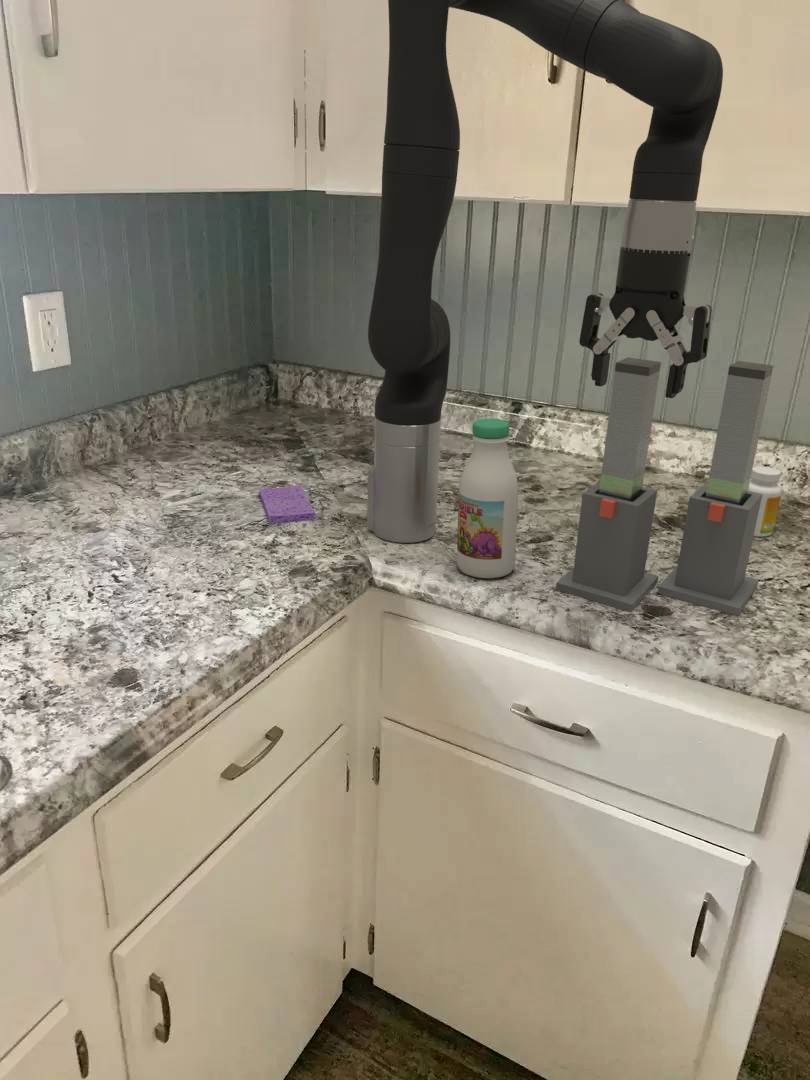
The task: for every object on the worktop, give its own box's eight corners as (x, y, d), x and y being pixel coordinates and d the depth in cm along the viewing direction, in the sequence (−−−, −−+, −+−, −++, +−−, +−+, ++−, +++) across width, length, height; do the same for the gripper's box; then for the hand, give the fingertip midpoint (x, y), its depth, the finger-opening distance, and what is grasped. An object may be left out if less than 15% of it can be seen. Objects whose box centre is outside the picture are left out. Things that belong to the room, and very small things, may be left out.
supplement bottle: (770, 526, 129) (783, 466, 126) (774, 539, 125) (788, 477, 121) (733, 522, 131) (745, 462, 127) (736, 535, 126) (748, 473, 122)
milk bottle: (483, 551, 117) (489, 411, 110) (526, 568, 112) (535, 422, 104) (444, 567, 113) (447, 421, 105) (487, 585, 107) (493, 433, 100)
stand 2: (657, 593, 107) (673, 497, 102) (681, 566, 115) (697, 476, 110) (738, 615, 102) (759, 516, 97) (757, 586, 110) (777, 493, 105)
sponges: (269, 527, 125) (268, 515, 124) (258, 497, 136) (258, 486, 135) (315, 523, 127) (315, 511, 126) (301, 494, 138) (301, 483, 137)
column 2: (697, 540, 105) (729, 366, 96) (706, 530, 108) (737, 360, 99) (730, 547, 103) (765, 371, 94) (738, 537, 106) (773, 365, 97)
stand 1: (555, 589, 107) (566, 494, 102) (586, 563, 115) (597, 473, 110) (631, 611, 102) (646, 512, 97) (657, 582, 110) (673, 489, 105)
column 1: (593, 536, 105) (615, 362, 97) (605, 526, 108) (627, 357, 100) (624, 544, 103) (649, 367, 94) (635, 534, 106) (661, 362, 98)
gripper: (581, 242, 93) (565, 387, 99) (712, 251, 85) (686, 407, 92) (606, 239, 98) (590, 376, 105) (731, 248, 91) (705, 395, 98)
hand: (635, 390), depth 98 cm, fingers open, 8 cm apart
